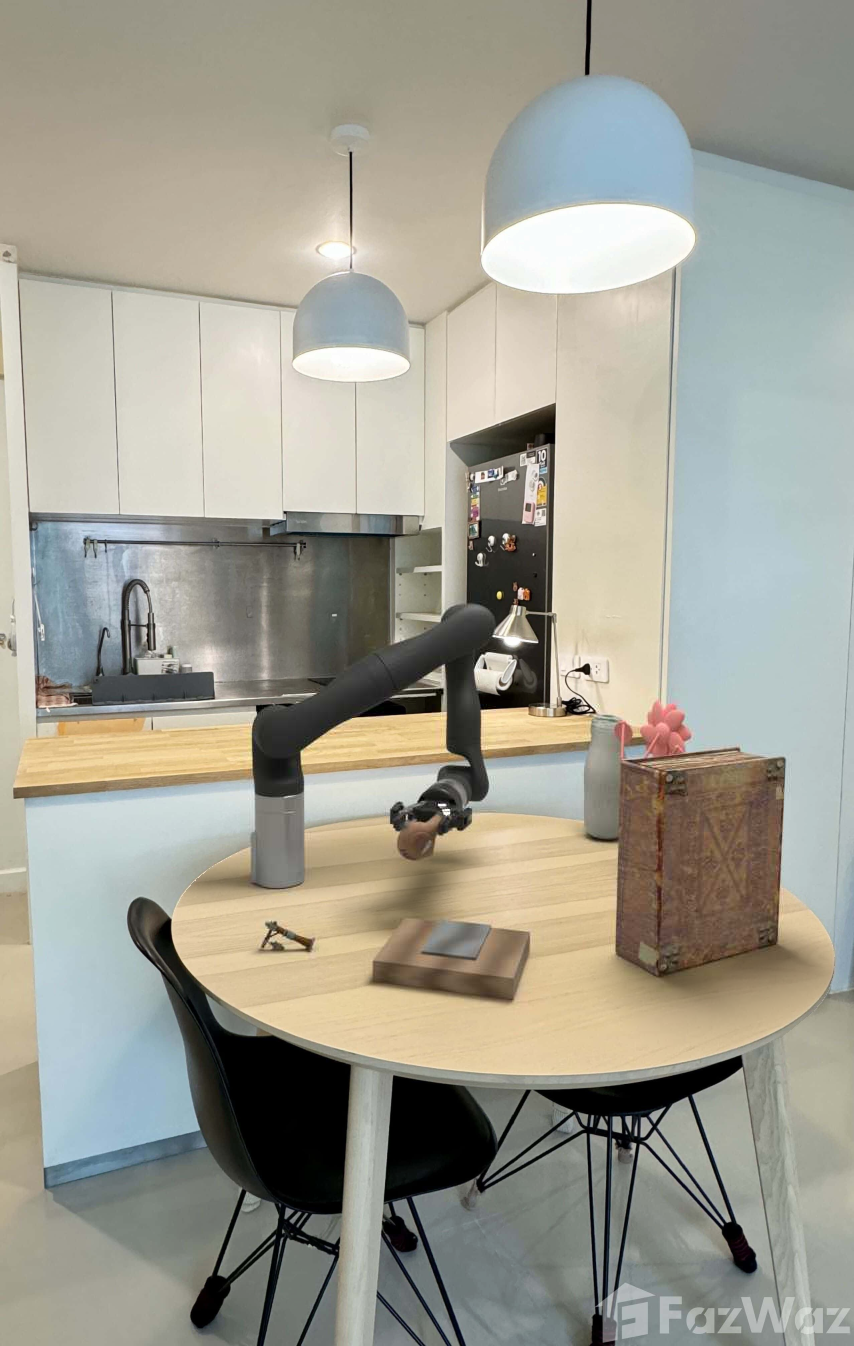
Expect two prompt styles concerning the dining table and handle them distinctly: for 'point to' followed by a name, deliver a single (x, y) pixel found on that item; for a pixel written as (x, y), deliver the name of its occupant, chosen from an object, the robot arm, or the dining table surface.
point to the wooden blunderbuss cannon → (288, 934)
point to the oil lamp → (418, 838)
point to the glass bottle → (603, 779)
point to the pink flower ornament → (658, 731)
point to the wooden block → (454, 957)
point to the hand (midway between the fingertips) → (418, 827)
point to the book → (698, 857)
